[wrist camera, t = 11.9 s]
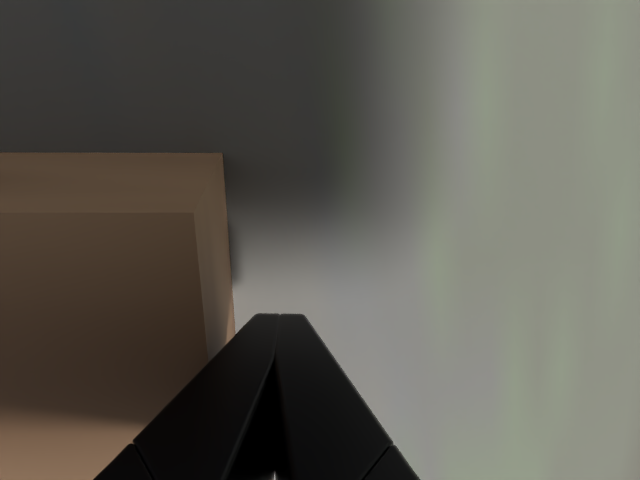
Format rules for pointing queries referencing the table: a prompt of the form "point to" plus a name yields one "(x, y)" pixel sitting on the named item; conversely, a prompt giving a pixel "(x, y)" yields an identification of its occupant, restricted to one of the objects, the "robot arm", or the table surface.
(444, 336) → the table surface
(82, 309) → the walnut block
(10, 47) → the table surface
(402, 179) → the table surface
